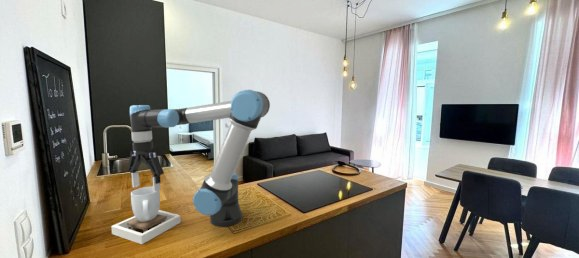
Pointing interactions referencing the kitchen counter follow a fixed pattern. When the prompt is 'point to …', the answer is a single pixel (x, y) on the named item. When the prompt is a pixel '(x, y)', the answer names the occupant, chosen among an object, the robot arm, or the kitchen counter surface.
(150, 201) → the mug
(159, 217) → the brown piece
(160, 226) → the face frame
